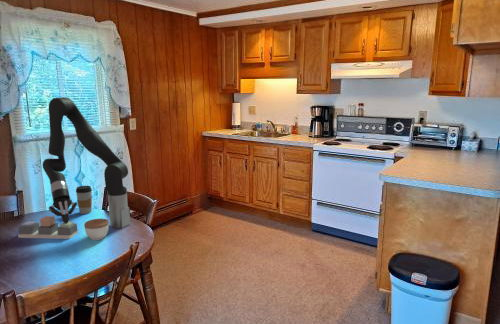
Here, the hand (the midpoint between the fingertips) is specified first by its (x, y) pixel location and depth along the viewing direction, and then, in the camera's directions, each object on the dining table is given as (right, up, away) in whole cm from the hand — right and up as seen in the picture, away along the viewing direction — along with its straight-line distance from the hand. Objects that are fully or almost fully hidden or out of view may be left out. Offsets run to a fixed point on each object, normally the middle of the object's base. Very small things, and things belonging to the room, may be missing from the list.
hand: (66, 222), depth 171 cm
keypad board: (-9, -7, +2) cm, 12 cm away
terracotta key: (-9, -1, +1) cm, 9 cm away
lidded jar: (+15, -8, -1) cm, 17 cm away
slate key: (-19, -4, +2) cm, 19 cm away
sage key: (0, -4, +1) cm, 4 cm away
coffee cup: (-7, 0, +35) cm, 35 cm away
